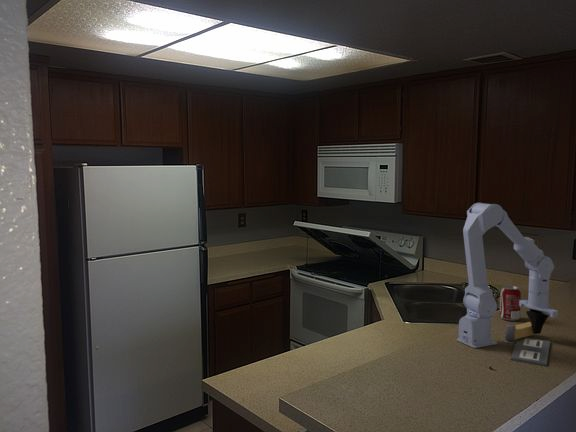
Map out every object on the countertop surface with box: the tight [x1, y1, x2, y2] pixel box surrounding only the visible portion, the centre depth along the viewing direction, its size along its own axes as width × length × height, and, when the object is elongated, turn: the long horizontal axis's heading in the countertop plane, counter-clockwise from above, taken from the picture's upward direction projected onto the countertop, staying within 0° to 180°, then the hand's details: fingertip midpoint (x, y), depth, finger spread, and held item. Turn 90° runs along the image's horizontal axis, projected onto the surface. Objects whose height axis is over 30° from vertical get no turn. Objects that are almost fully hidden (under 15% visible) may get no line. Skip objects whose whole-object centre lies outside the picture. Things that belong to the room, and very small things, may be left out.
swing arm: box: [504, 321, 535, 341], centre depth 155 cm, size 14×3×4 cm, turn 121°
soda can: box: [499, 285, 522, 322], centre depth 176 cm, size 7×7×12 cm
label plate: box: [502, 336, 551, 367], centre depth 144 cm, size 22×13×1 cm, turn 149°
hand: (536, 333), depth 154 cm, fingers closed
